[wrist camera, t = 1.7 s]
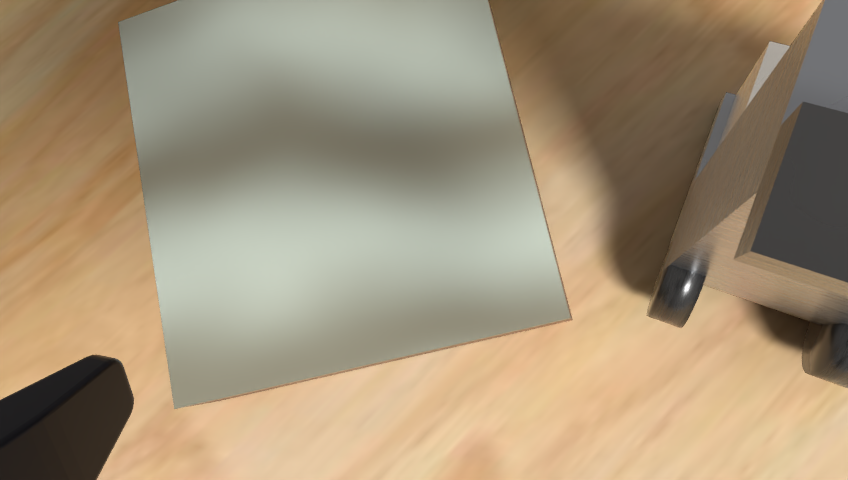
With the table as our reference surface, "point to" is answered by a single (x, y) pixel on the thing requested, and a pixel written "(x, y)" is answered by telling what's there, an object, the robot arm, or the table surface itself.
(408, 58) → the plate
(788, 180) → the hand trolley
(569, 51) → the table surface
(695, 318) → the table surface
